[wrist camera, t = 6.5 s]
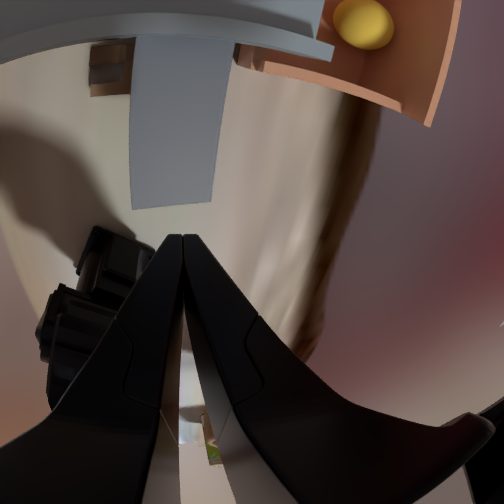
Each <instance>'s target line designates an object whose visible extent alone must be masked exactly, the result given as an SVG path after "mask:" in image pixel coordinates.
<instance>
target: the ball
mask: <svg viewBox="0 0 504 504" xmlns="http://www.w3.org/2000/svg"><path fill="white" fill-rule="evenodd" d="M333 22H334V26H335V29H336V31H337V32H338V34H339V35H340V36H341V38H342V39H343V40H345V41H346V42H347V43H349V44H350V45H352V46H354V47H357V48H360V49H365V50H374V49H378V48H381V47H383V46H385V45H386V44H387V43H389V41H390V40H391V39H392V37H393V34H394V22H393V19H392V17H391V15H390V13H389V12H388V11H387V10H386V8H385V7H383V6H382V5H381V4H379V3H378V2H376V1H374V0H344V1H342V2H341V3H340V4H339V5H338V6H337V7H336V9H335V11H334V15H333Z"/></svg>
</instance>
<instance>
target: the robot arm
mask: <svg viewBox="0 0 504 504" xmlns="http://www.w3.org/2000/svg"><path fill="white" fill-rule="evenodd" d="M95 231H97V232H99V233H96V232H95ZM150 256H153V257H150ZM80 271H81V272H80ZM76 274H77V275H78V276H80V277H79V280H78V284H77V287H76V290H74V289H72V288H69V287H66V285H64V284H62V283H59V286H58V289H57V290H55V291H54V293H53V294H50V296H49V299H48V302H47V305H46V309H45V311H44V314H43V315H42V317H41V319H40V321H39V323H38V326H37V328H36V332H35V336H36V338H37V340H38V342H39V344H40V346H39V349H40V351H41V354H40V358H41V361H43V362H46V363H49V367H48V375H47V387H46V393H47V397H48V402H49V405H50V408H51V410H52V412H51V413H50V414H49V415H48V416H47V417H46V418H45V419H44V420H42V421H41V422H40V423H38V424H37V425H35V426H34V427H32V428H31V429H29V430H28V431H26V432H24V433H23V434H21V435H19V436H18V437H16V438H15V439H13V440H11V441H10V442H8V443H6V444H5V445H3V446H2V447H0V504H181V502H180V481H179V447H178V445H179V384H180V361H181V344H182V329H183V316H184V309H185V315H186V321H187V326H188V331H189V336H190V341H191V346H192V350H193V355H194V359H195V364H196V368H197V372H198V377H199V381H200V385H201V389H202V393H203V397H204V401H205V405H206V408H207V412H208V416H209V419H210V423H211V426H212V430H213V433H214V437H215V440H216V443H217V447H218V450H219V453H220V456H221V460H222V463H223V466H224V468H225V472H226V475H227V478H228V481H229V483H230V486H231V489H232V492H233V495H234V497H235V500H236V503H237V504H504V397H502V398H501V399H500V400H498V401H497V402H495V403H494V404H492V405H491V406H489V407H487V408H486V409H485V410H483V411H481V412H480V413H478V414H473V413H470V412H467V413H464V414H462V415H460V416H458V417H456V418H454V419H452V420H451V421H449V422H447V423H445V424H443V425H441V426H440V427H433V426H427V425H423V424H419V423H415V422H411V421H407V420H404V419H401V418H397V417H394V416H390V415H387V414H384V413H381V412H377V411H374V410H371V409H368V408H365V407H362V406H359V405H357V404H355V403H352V402H350V401H349V400H347V399H345V398H343V397H342V396H341V395H339V394H338V393H337V392H335V391H334V390H333V389H332V388H331V387H330V386H328V385H327V384H326V383H325V382H324V381H323V380H322V379H321V378H320V377H319V376H318V375H316V374H315V373H314V372H313V371H312V370H311V369H310V368H309V367H308V366H307V365H306V364H305V363H304V362H303V361H301V360H300V359H299V358H298V357H297V356H296V355H295V354H294V353H293V352H292V351H291V350H290V349H289V348H288V347H287V346H286V345H285V344H284V343H283V342H282V341H281V340H280V338H279V337H278V336H277V335H276V334H275V333H274V332H273V330H272V329H271V328H270V327H269V326H268V324H267V323H266V322H265V321H264V319H263V318H262V317H261V316H260V315H259V314H258V312H257V311H256V310H255V308H254V307H253V306H252V304H251V303H250V302H249V301H248V299H247V298H246V297H245V296H244V294H243V293H242V292H241V290H240V289H239V288H238V287H237V285H236V284H235V283H234V282H233V280H232V279H231V278H230V276H229V275H228V274H227V272H226V271H225V270H224V269H223V267H222V266H221V265H220V263H219V262H218V261H217V259H216V258H215V257H214V255H213V254H212V253H211V251H210V250H209V249H208V248H207V246H206V245H205V244H204V242H203V241H202V240H201V238H200V237H199V236H198V235H197V234H184V235H183V236H182V235H181V234H169V235H167V237H166V238H165V240H164V241H163V242H162V244H161V245H160V247H159V248H158V250H157V251H156V252H154V251H152V250H150V249H148V248H145V247H143V246H141V245H139V244H136V243H134V242H132V241H130V240H127V239H125V238H123V237H121V236H119V235H116V234H114V233H112V232H110V231H108V230H105V229H103V228H101V227H99V226H95V227H93V229H92V231H91V233H90V236H89V238H88V241H87V243H86V246H85V248H84V251H83V253H82V256H81V259H80V261H79V264H78V267H77V270H76ZM258 315H259V316H258Z"/></svg>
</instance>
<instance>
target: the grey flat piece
mask: <svg viewBox="0 0 504 504" xmlns="http://www.w3.org/2000/svg"><path fill="white" fill-rule="evenodd" d="M324 2H325V0H0V64H3V63H6V62H9V61H12V60H15V59H18V58H21V57H24V56H27V55H31V54H34V53H38V52H42V51H46V50H50V49H55V48H59V47H64V46H69V45H74V44H80V43H87V42H94V41H102V40H111V39H123V38H136V42H135V49H134V58H133V68H132V79H131V94H130V117H129V165H130V189H131V203H132V210H137V209H145V208H154V207H163V206H172V205H182V204H192V203H204V202H211V197H212V188H213V180H214V172H215V164H216V157H217V149H218V142H219V135H220V128H221V122H222V115H223V109H224V103H225V96H226V90H227V85H228V79H229V73H230V68H231V62H232V57H233V52H234V46H235V43H241V44H247V45H253V46H259V47H264V48H269V49H273V50H278V51H282V52H287V53H291V54H295V55H299V56H304V57H309V58H314V59H319V60H324V61H329V62H331V59H332V55H333V51H334V47H335V46H333V45H330V44H327V43H324V42H321V41H319V40H316V36H317V32H318V27H319V23H320V19H321V15H322V10H323V6H324Z"/></svg>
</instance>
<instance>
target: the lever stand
mask: <svg viewBox="0 0 504 504" xmlns="http://www.w3.org/2000/svg"><path fill="white" fill-rule="evenodd" d="M134 49H135V45H125V44H116V45H107V46H99V47H91V50H90V62H89V66H91V73H90V84H91V96H90V97H95V96H106V95H120V94H131V79H132V68H133V58H134Z"/></svg>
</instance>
